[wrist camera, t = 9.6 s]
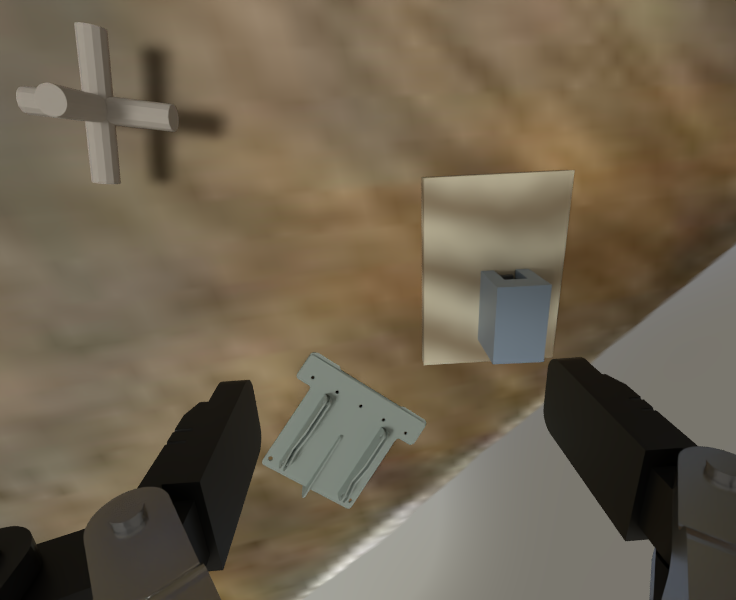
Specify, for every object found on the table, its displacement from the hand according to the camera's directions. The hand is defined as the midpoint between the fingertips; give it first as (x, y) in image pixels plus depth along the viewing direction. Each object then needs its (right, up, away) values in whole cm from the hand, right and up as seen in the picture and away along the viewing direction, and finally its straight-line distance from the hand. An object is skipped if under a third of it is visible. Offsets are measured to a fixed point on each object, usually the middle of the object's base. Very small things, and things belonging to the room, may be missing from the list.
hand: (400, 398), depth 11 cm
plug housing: (+12, +2, +28) cm, 30 cm away
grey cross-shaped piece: (-20, +18, +22) cm, 35 cm away
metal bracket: (-4, -11, +34) cm, 36 cm away
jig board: (+11, +5, +28) cm, 30 cm away
